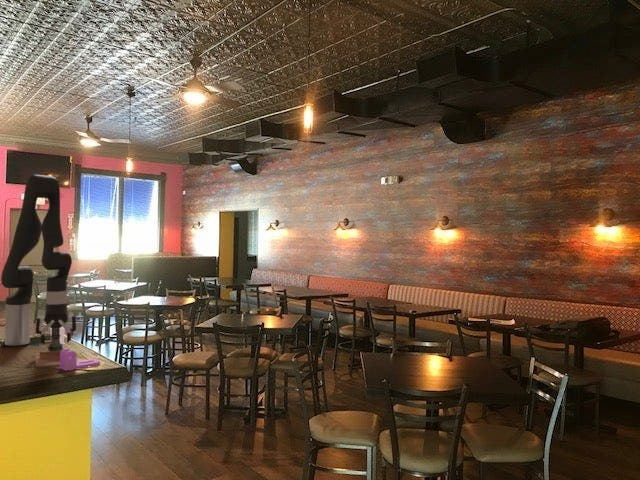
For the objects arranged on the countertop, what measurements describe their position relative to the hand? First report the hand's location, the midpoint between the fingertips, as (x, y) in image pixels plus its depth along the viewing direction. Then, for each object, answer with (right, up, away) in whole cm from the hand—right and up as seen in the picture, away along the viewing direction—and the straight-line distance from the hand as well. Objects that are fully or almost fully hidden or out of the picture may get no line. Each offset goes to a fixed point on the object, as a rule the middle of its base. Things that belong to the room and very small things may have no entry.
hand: (55, 342), depth 203 cm
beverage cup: (-5, -4, +11) cm, 13 cm away
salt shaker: (0, -5, 0) cm, 5 cm away
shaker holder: (+4, -5, -11) cm, 13 cm away
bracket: (+17, -6, -15) cm, 24 cm away
